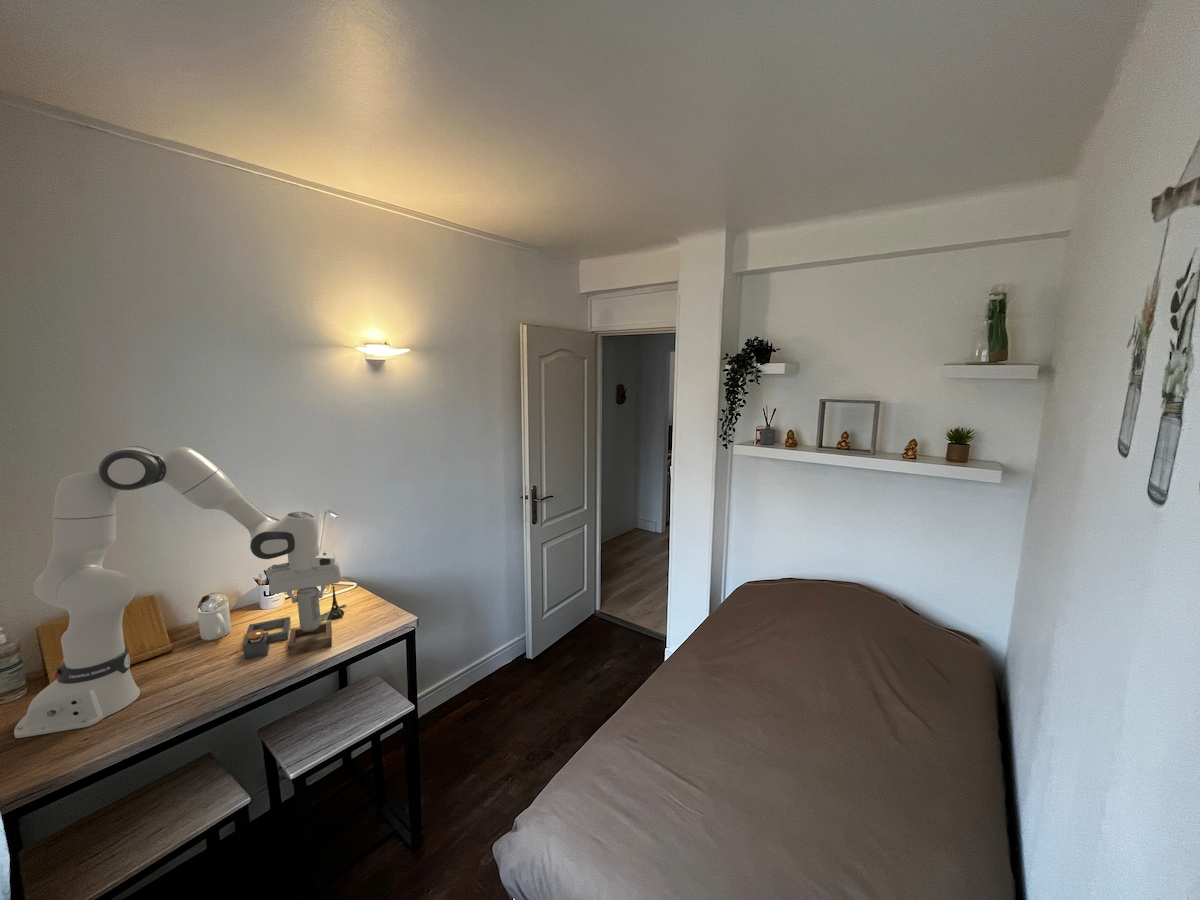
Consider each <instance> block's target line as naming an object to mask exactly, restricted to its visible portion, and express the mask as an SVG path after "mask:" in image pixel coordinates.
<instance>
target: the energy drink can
mask: <svg viewBox="0 0 1200 900" xmlns="http://www.w3.org/2000/svg"><path fill="white" fill-rule="evenodd" d="M296 591H297V592H296V596H297V602H296V603H297V610H298V620H299V627H300V628H301V629H302V630H303V631H304V632H310V631H314V630H316V629H317V628H319V625H320V624H321V623H322V622H321V617H320V615H321V608H320V600H319V599H320V598H318V592H319V589H318V586H317V587H311V588H306V589H300V590H296Z"/></svg>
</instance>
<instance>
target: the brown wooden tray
mask: <svg viewBox="0 0 1200 900" xmlns="http://www.w3.org/2000/svg"><path fill="white" fill-rule="evenodd" d="M332 628H333V627H332V620H329V621H323V622H321V624H320V625H319V628H317V629H316V630H314V631H310V632H304V631H303V630H302V629H301V628H300V626H298V627H293V628H290V631H289V637H288V644H287V651H288V658H289V657H290V658H291V657H294V656H298V655H301V654H302V655H303V654H307V653H310V652H315V651H321V650H325V649H328V648H332V647H333V645H332V644H333V640H332V639H333V637H332V636H333V634H332V633H333V629H332Z"/></svg>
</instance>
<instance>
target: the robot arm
mask: <svg viewBox="0 0 1200 900" xmlns="http://www.w3.org/2000/svg"><path fill="white" fill-rule="evenodd" d="M160 482H163V483H164V484H165V483H166V484H168V485H169V486H170V487H172V488H173V489H174V490H176V492H177V493H179V494H180V495H181V496H182V497H183V498H185V499H186V500H187V501H188V502H190V503H192V504H193V505H195V506H196V507H199V508H200V509H202V510H203V509H204V510H218V511H222V512H224V513H226V514H228V515H229V516H231V517H232V518H233V519H235V521H237V522H238V523H239V524H240V525H242V526H243V527H244V528H245V529H247V531H248V533H249V535H250V538H251V539H250V547H249V548H250V551H251V553H252V555H254V556H255V557H256V558H258V559H261V560H271V559H275V558H278V557H282V556H286V555H287V562H284V563H279V564H273V565H271V566H269V567H268V568H267V569H266V577H267V578H268V579H269V582H268V592H269V593H270V594H271V595H277V594H282V593H286V595H287V596H288V598H290V599H291V603H292V604H296V603H298V602H297V595H294V594H293V592H294V591H298V590H300V589H306V588H311V587H317V588H318V587H320V591H318V598H319V599H323V596H324V595H323V593H324V591H326V586H328V585H334V584H338V583H340V582H341V580H342V577H341V574H342V573H341V569H340V565H339V562H338V561H337V560H336V555H335V553H334V552H333V551H326V550H325V551H324V550H320V547H319V545H318V540H319V532H318V525H317V520H316V518H315V516H314V515H313V514H311V513H309V512H305V511H294V512H290V513H286V515H285V516H284V517H282V519H279V518H276V517H274V516H270V515H267V514H266V513H264V512H262V510H261V509H259V508H258V507H256V506H255V505H254V504H253V503H252V502H250V501H249V500H248V499H247V498H246V497H245V496H244V495H243V494H242V493H241V492H240V491H239V490H238V488H237V487H236V485H235V484H234V483H233V482H232V480H231V479H230V478H229V477H228V476H227V474H225V472H224V471H223V470H221V469H220V468H219V467H218V466H216V465H215V464H214V463H212V461H210V460H209V458H206V457H205V456H204V455H202V454H200V453H199V452H198V451H197V450H195V449H192V448H191V447H188V446H178V447H174V448H171V449H170V450H167V451H165V452H163V453H161V454H158V453H154V452H153V451H151V450H150V449H148V448H146V447H143V446H137V445H128V446H123V447H118V448H116V449H114V450H112V451H111V452H109V453H108V454H106V456H104V458H103V459H102V460H101V461H100V463H99V465H98V468H97V469H96V470H94V471H85V472H83V471H82V472H75V473H73V474H70V475H67V476H65V477H63V478H62V479H61V480H60V481H59V483H58V486H57V489H56V492H55V496H54V501H53V502H54V503H53V511H52V512H53V513H52V546H51V552H50V556H49V558H48V561H47V564H46V567H45V569H44V571H42V573H40V574H39V575H38V576H37V577H36V579H34V580H35V581H34V583H33V587H32V589H33V590H32V591H33V594H34V595H35V596H36V597H37V599H39V600H41V602H43V603H45V604H47V605H49V606H51V607H55V608H56V607H57V608H60V609H65V610H66V612H68V615H69V620H68V621H69V623H68V626H67V629H66V631H64V632H63V633H62V635H61V638H60V643H61V648H62V655H63V659H62V660H61V661H60V662H59V666H57V667H56V668H55V671H54V672H53V673H52V679H55V680H54V681H53V682H51V683H50V684H48V685H47V686H46V687H45V688H44V689H42V690H41V691H39V693H38V694H36V696H34V697H33V699H32V700H31V701H30V703H29V705H28V707H27V711H26V714H25V715H24V716H23V717H22V718H21V719H20V720H19V722H18V723H17V724H16V725H15V727H14V731H13V735H14V738H15V739H21V738H29V737H34V736H39V735H46V734H52V733H57V732H65V731H69V730H76V729H81V728H83V729H84V728H88V727H91V726H93V725H96V724H97V723H99V722H101V721H102V720H103V719H105V718H108V716H111V715H113V714H115V713H117V712H119V711H121V710H123V709H125V708H126V707H128V706H129V705H132V703H133V702H135V701H136V700H137V699H138V697H140V695H141V690H140V688H139V687H138V685H137V684H136V682H135V679H134V678H133V675H132V672H131V669H130V668H131V658H130V654H129V650H128V646H126V644H125V639H124V631H123V618H124V611H125V609H126V607H127V606H128V605H129V604H130V603H131V602H132V600H133V598H135V595H136V590H137V587H136V583H135V582H134V579H132V578H130V577H129V576H127V575H126V574H124V573H122V572H120V571H117V570H114V569H113V570H112V569H109V568H108V569H107V568H104V567H103V564H104V563H103V561H104V558H105V556H106V553H107V551H108V550H109V548H111V547H112V546H113V545H114V544H115V543H116V540H117V536H116V535H117V531H116V530H117V499H118V498H117V497H118V495H119V493H121V491H135V490H138V489H139V490H140V489H142V488H145V487H148V486H151V485H154V484H157V483H160Z"/></svg>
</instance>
